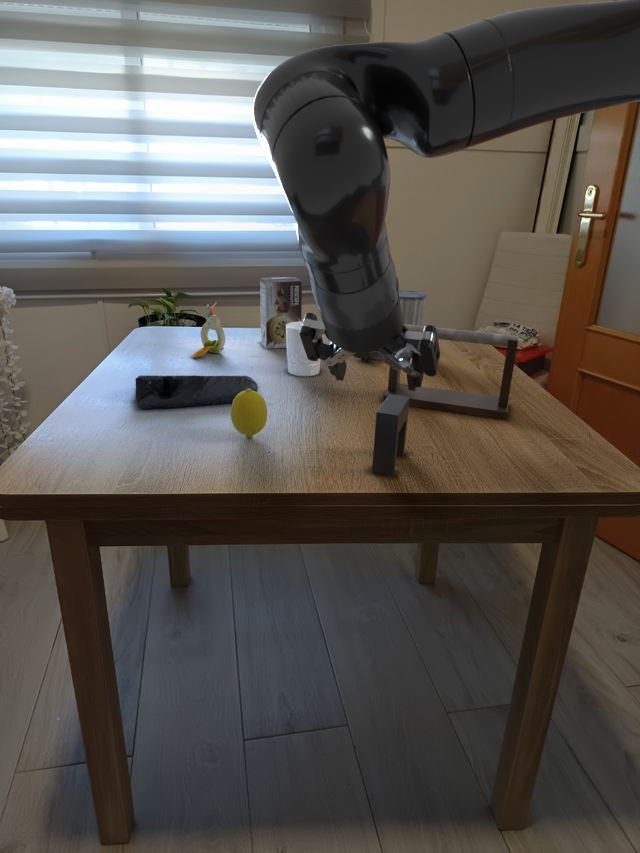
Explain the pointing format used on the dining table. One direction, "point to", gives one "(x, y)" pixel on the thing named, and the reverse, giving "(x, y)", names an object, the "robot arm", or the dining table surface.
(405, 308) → the milk frother
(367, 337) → the robot arm
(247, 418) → the lemon
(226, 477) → the dining table surface
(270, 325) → the coffee box
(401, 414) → the dark grey hook
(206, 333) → the rattle
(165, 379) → the dark slate chunk
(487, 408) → the rail stand
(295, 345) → the white cup
